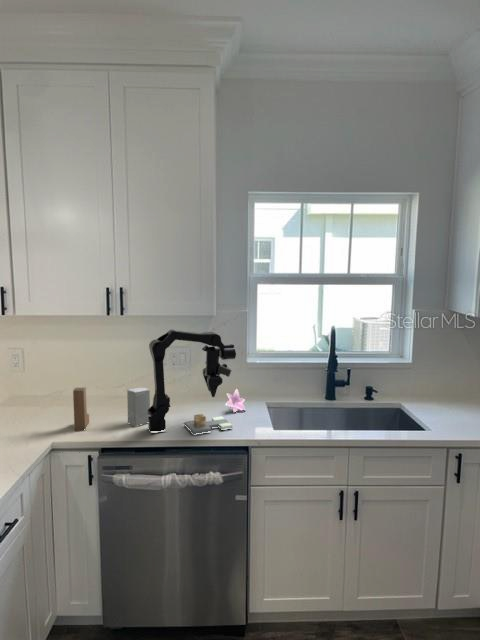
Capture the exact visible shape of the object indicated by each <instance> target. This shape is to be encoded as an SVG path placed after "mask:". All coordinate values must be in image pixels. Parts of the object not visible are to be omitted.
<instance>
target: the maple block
mask: <svg viewBox="0 0 480 640" xmlns="http://www.w3.org/2000/svg"><path fill="white" fill-rule="evenodd" d="M193 420H194V424H195V425H196V426H197V427H200V426H206V422H207V417H206V415H204V413H199V414H194V415H193Z"/></svg>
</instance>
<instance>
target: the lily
mask: <svg viewBox="0 0 480 640" xmlns="http://www.w3.org/2000/svg"><path fill="white" fill-rule="evenodd" d="M226 396H227V397H228V399H229V400H227V402H226V403H225V406H227V407H229V408H230V409H231V408H232V410H233V411H232V412H233V413H234V412H236V411H237V412H238V410H240V411H242V410H246V408H245V405H244V402H245V400H246V399H245V398H242V397H240V392H239V389H237V388H236V389H235V390H234V393H233V394H230V393H228V392H227V393H226ZM246 411H247V410H246ZM237 412H236V413H237Z"/></svg>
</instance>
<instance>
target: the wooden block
mask: <svg viewBox="0 0 480 640" xmlns="http://www.w3.org/2000/svg"><path fill="white" fill-rule="evenodd" d="M72 392H73V393H72V394H73V395H72V397H73V398H72V399H73V401H72V402H73V421H74V423H73V425H74V431H75V430H79V431H85V430H86V429H87V428H88V426H89V424H90V413H88V411H87V408H88V407H87V388H86V387H75V388H74V390H73V391H72ZM87 425H88V426H87ZM86 427H87V428H86ZM84 429H85V430H84Z"/></svg>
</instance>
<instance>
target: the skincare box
mask: <svg viewBox="0 0 480 640" xmlns="http://www.w3.org/2000/svg"><path fill="white" fill-rule="evenodd" d="M126 391H127V394H126V395H127V424H128V423H130V424H132V425H131V426H133V425H134V426H133V427H135V426H137V425H140V424H144V423H147V422H149V420H148V417H149V416H150V415H149V413H148V409H149V408H150V407H151V404H150V403H151V398H150V397H151V395H150V394H151V393H150V389H149V388H146V387H135V388H131V389H127V390H126ZM130 424H129V425H130ZM147 424H148V423H147ZM144 425H145V424H144ZM137 427H138V426H137Z"/></svg>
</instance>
